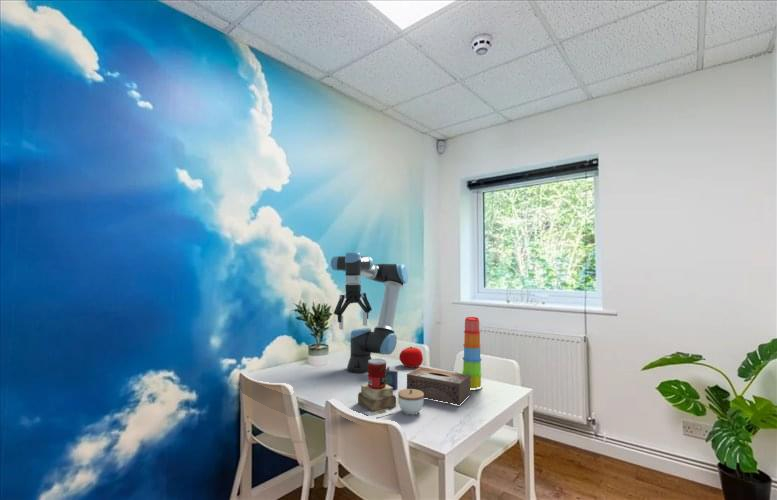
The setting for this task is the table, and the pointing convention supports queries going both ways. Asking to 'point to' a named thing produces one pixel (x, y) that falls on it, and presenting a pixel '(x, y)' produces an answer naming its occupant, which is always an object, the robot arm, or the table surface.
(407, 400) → the lidded jar
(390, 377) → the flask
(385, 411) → the page
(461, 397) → the tissue box cover
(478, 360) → the stacking cups
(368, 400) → the folded towel stack
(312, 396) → the table surface
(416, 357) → the tomato
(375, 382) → the canned food
